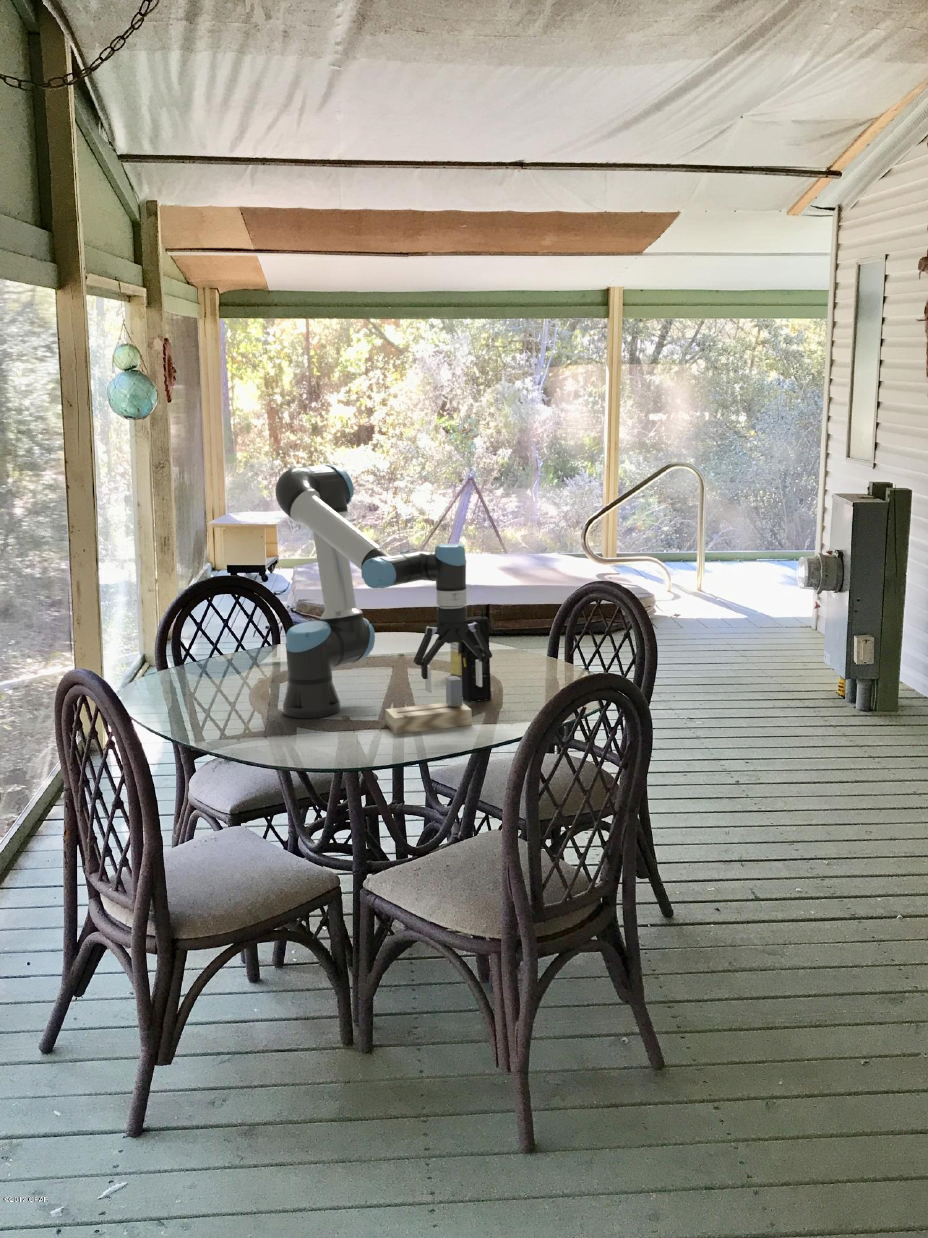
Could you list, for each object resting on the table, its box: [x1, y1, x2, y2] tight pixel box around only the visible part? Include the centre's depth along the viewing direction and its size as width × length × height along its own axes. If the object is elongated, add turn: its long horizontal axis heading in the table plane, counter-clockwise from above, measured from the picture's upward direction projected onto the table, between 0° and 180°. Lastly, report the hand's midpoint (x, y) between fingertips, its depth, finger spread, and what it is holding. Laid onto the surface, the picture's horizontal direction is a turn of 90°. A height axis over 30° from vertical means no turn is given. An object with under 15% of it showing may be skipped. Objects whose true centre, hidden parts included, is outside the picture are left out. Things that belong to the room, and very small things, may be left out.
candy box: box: [449, 642, 462, 677], centre depth 345 cm, size 9×4×15 cm, turn 129°
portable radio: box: [459, 607, 492, 703], centre depth 313 cm, size 8×6×25 cm
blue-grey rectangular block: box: [445, 675, 463, 707], centre depth 292 cm, size 3×4×7 cm
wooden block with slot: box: [384, 702, 473, 735], centre depth 291 cm, size 20×9×4 cm, turn 109°
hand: (454, 688), depth 292 cm, fingers open, 13 cm apart
